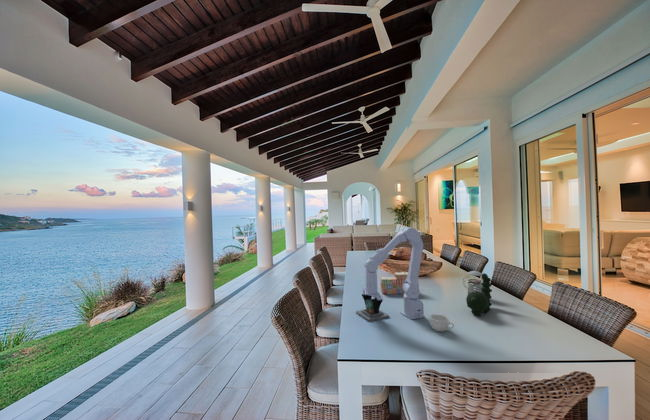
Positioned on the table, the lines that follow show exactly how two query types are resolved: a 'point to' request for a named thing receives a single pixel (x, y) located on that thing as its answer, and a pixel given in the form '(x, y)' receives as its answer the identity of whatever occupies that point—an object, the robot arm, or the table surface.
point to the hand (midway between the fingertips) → (372, 310)
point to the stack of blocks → (393, 283)
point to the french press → (474, 280)
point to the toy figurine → (480, 297)
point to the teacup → (440, 322)
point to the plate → (372, 315)
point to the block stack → (369, 307)
